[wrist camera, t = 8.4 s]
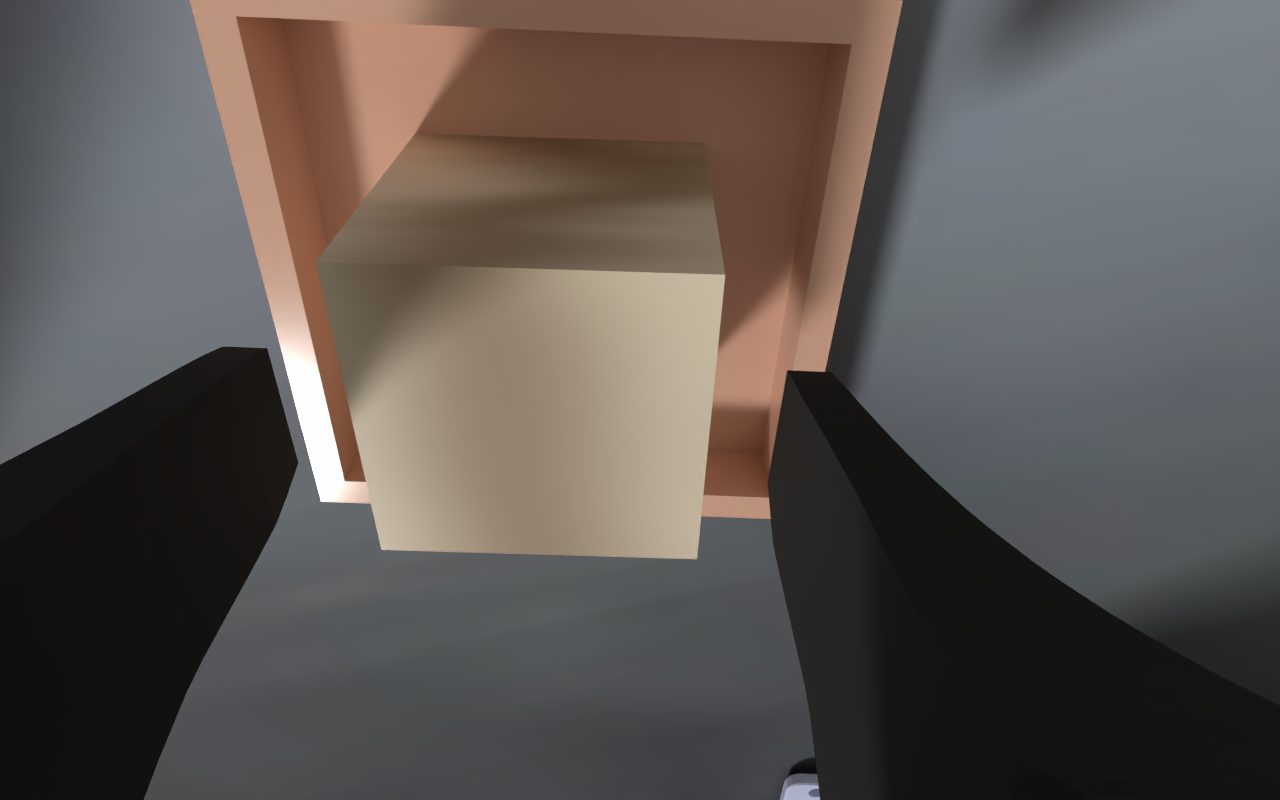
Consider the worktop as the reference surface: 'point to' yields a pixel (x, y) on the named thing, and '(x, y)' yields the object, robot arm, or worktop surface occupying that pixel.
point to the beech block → (532, 344)
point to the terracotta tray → (575, 109)
